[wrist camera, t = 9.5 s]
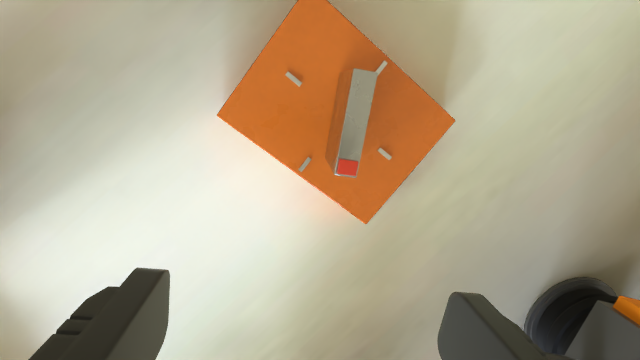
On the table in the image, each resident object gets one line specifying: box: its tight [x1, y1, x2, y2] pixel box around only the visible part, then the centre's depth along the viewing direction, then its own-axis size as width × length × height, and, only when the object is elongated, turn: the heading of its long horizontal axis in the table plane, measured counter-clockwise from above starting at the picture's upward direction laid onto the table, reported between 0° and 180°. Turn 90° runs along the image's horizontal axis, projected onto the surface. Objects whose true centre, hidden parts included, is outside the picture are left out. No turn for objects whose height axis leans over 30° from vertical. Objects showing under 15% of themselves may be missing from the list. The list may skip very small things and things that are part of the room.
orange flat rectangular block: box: [217, 0, 455, 224], centre depth 27 cm, size 16×12×3 cm
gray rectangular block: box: [325, 68, 378, 178], centre depth 23 cm, size 7×2×6 cm, turn 170°
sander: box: [524, 277, 640, 360], centre depth 32 cm, size 15×25×13 cm, turn 73°
